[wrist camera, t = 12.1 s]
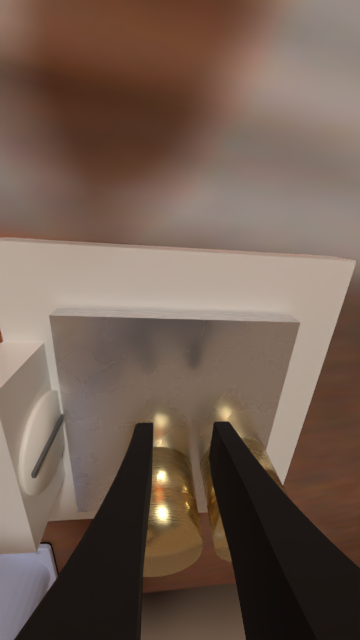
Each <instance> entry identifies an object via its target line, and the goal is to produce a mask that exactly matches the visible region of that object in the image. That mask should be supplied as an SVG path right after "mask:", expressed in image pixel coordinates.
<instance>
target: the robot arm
mask: <svg viewBox="0 0 360 640" xmlns="http://www.w3.org/2000/svg"><path fill="white" fill-rule="evenodd" d="M152 462H153V423H137V424H136V425H135V428H134V432H133V435H132V438H131V441H130V444H129V447H128V449H127V452H126V454H125V457H124V459H123V461H122V463H121V466H120V468H119V470H118V472H117V475H116V477H115V479H114V481H113V483H112V485H111V487H110V489H109V491H108V493H107V495H106V496H105V498H104V500H103V502H102V504H101V506H100V508H99V510H98V511H97V513H96V515H95V517H94V519H93V520H92V522H91V524H90V526H89V527H88V529H87V531H86V532H85V534H84V536H83V537H82V539H81V541H80V542H79V544H78V545H77V547H76V549H75V550H74V552H73V553H72V555H71V557H70V558H69V560H68V561H67V563H66V565H65V566H64V568H63V569H62V571H61V572H60V574H59V575H57V570H56V566H55V562H54V557H53V553H52V549H51V546H50V545H49V544H39V547H38V550H37V552H34V553H19V554H4V555H0V640H140V636H141V635H140V634H141V611H142V586H143V570H144V558H145V548H146V539H147V529H148V519H149V510H150V500H151V490H152ZM209 464H210V471H211V477H212V483H213V488H214V492H215V496H216V500H217V504H218V508H219V512H220V516H221V520H222V524H223V528H224V532H225V536H226V540H227V543H228V547H229V551H230V555H231V560H232V564H233V569H234V573H235V579H236V584H237V590H238V595H239V600H240V606H241V612H242V618H243V624H244V629H245V635H246V640H360V568H359V567H358V566H357V565H356V564H355V563H353V562H352V561H351V560H350V559H349V558H348V557H347V556H346V555H345V554H344V553H343V552H341V551H340V550H339V549H338V548H337V547H336V546H335V545H334V544H333V543H332V542H331V541H330V540H329V539H328V538H327V537H326V536H325V535H324V534H323V533H322V532H321V531H320V530H319V529H318V528H317V527H316V526H315V525H314V524H313V523H312V522H311V521H310V520H309V519H308V518H307V517H306V516H305V515H304V514H303V513H302V512H301V511H300V510H299V509H298V507H297V506H296V505H295V504H294V503H293V502H292V501H291V500H290V499H289V498H288V496H287V495H286V494H285V493H284V492H283V491H282V490H281V488H280V487H279V486H278V485H277V484H276V483H275V481H274V480H273V479H272V478H271V477H270V475H269V474H268V473H267V472H266V470H265V469H264V468H263V467H262V465H261V464H260V463H259V461H258V460H257V459H256V458H255V456H254V455H253V454H252V452H251V451H250V450H249V448H248V447H247V446H246V444H245V443H244V442H243V440H242V439H241V437H240V436H239V435H238V433H237V432H236V430H235V429H234V428H233V426H232V425H231V423H230V422H229V421H217V422H214V425H213V432H212V438H211V445H210V452H209Z"/></svg>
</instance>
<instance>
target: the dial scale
mask: <svg viewBox="0 0 360 640" xmlns="http://www.w3.org/2000/svg"><path fill="white" fill-rule="evenodd" d="M355 264H356V261H354V260H349V259H344V258H339V257H333V256H317V255H300V254H283V253H266V252H249V251H232V250H215V249H197V248H180V247H163V246H146V245H129V244H112V243H95V242H78V241H61V240H44V239H26V238H9V237H0V329H1V334H2V338H3V342H2V343H0V555H4V554H19V553H34V552H37V550H38V547H39V544H40V542H41V539H42V536H43V534H44V531H45V528H46V525H47V523H48V521H59V520H77V519H94V517H95V515H96V513H97V511H91V512H78V510H77V503H76V496H75V489H74V482H73V476H72V469H71V462H70V455H69V448H68V442H67V435H66V428H65V421H64V414H63V408H62V401H61V394H60V387H59V380H58V373H57V367H56V360H55V353H54V346H53V339H52V333H51V326H50V319H49V315H50V314H51V313H52V312H54V311H55V310H56V309H57V308H70V309H102V310H134V311H167V312H199V313H231V314H264V315H291V316H292V317H293V318H295V319H296V320H298V321H299V322H300V326H299V330H298V333H297V337H296V341H295V344H294V348H293V352H292V356H291V359H290V363H289V367H288V371H287V374H286V378H285V382H284V385H283V389H282V393H281V397H280V400H279V404H278V408H277V411H276V415H275V419H274V423H273V426H272V430H271V434H270V438H269V441H268V445H267V449H266V452H267V454H268V456H269V458H270V460H271V462H272V464H273V466H274V468H275V470H276V472H277V475H278V477H279V479H280V481H281V483H282V485H283V484H284V480H285V477H286V474H287V471H288V468H289V465H290V462H291V459H292V456H293V453H294V450H295V447H296V444H297V441H298V438H299V435H300V432H301V429H302V426H303V423H304V420H305V417H306V413H307V410H308V407H309V404H310V401H311V398H312V395H313V392H314V389H315V386H316V383H317V380H318V377H319V374H320V371H321V368H322V365H323V362H324V359H325V356H326V353H327V350H328V346H329V343H330V340H331V337H332V334H333V331H334V328H335V325H336V322H337V319H338V316H339V313H340V310H341V307H342V304H343V301H344V298H345V295H346V292H347V289H348V286H349V283H350V279H351V276H352V273H353V270H354V267H355ZM197 507H198V513H204V512H208V509H207V505H205V506H197Z"/></svg>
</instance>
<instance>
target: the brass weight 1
mask: <svg viewBox="0 0 360 640" xmlns="http://www.w3.org/2000/svg"><path fill="white" fill-rule="evenodd" d="M202 549H203V543H202V536H201V529H200V522H199V514H198V507H197V500H196V493H195V486H194V478H193V471H192V465H191V462H190V460H189V459H188V458H187V456H186V455H184V454H183V453H181V452H180V451H178V450H175V449H172V448H168V447H153V462H152V490H151V500H150V510H149V519H148V529H147V539H146V548H145V558H144V570H143V577H158V576H165V575H169V574H173V573H176V572H179V571H181V570H183V569H185V568H187V567H189V566H190V565H192V564H193V563H194V562H195V561H196V560H197V559H198V558H199V556H200V555H201V553H202Z"/></svg>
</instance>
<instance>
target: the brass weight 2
mask: <svg viewBox="0 0 360 640" xmlns="http://www.w3.org/2000/svg"><path fill="white" fill-rule="evenodd" d="M241 439H242V440H243V442H244V443H245V444H246V446H247V447H248V448H249V450H250V451H251V452H252V454H253V455H254V456H255V458H256V459H257V460H258V461H259V463H260V464H261V465H262V467H263V468H264V469H265V470H266V472H267V473H268V474H269V475H270V477H271V478H272V479H273V480H274V481H275V483H276V484H277V485H278V486H279V487H280V488H281V490H282V491H283V492H284V493H285V494H286V495H287V493H286V491H285V489H284V487H283V485H282V483H281V481H280V479H279V477H278V475H277V472H276V470H275V468H274V466H273V464H272V462H271V460H270V458H269V456H268V454H267V452H266V450H265V448H264V447H263V446H262V445H261V444H260V443H258V442H256V441H254V440H251V439H245V438H241ZM209 452H210V450H209V451H208V452H207V453H206V454H205V455H204V457H203V459H202V461H201V465H200V470H201V475H202V481H203V486H204V492H205V497H206V503H207V509H208V514H209V520H210V525H211V531H212V536H213V542H214V547H215V551H216V553H217V555H218V556H219V557H220V558H222V559H224V560H226V561H228V562H232V560H231V555H230V551H229V547H228V543H227V540H226V536H225V532H224V528H223V524H222V520H221V516H220V512H219V508H218V504H217V500H216V496H215V492H214V488H213V483H212V477H211V471H210V464H209Z"/></svg>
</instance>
